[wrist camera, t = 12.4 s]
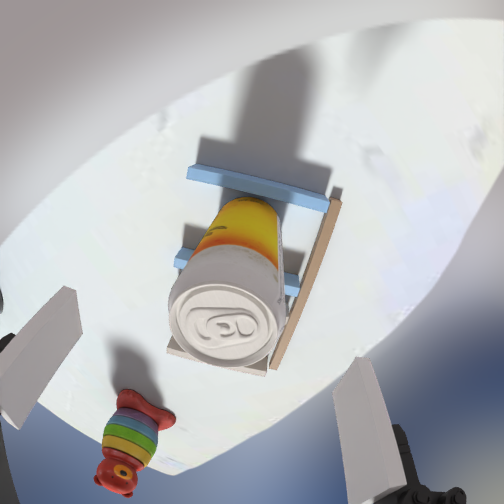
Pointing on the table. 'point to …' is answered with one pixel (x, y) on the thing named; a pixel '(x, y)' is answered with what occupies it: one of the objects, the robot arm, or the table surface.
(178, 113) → the table surface
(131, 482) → the stacking bear
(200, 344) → the beer can
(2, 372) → the robot arm
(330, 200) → the rack
